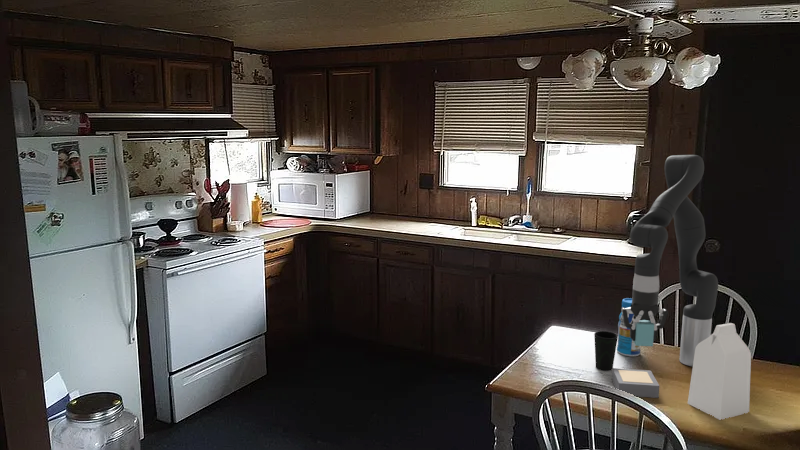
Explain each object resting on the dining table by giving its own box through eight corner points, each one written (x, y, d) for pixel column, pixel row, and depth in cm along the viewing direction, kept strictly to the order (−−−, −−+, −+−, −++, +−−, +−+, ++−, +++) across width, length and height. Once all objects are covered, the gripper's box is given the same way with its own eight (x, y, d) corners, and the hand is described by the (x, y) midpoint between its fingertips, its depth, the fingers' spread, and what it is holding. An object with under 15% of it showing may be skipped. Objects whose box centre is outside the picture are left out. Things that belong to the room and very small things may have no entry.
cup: (617, 372, 214) (619, 339, 212) (593, 371, 216) (595, 337, 214) (614, 364, 222) (616, 331, 220) (591, 362, 223) (593, 330, 221)
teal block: (648, 340, 200) (650, 319, 199) (652, 346, 195) (654, 324, 194) (632, 339, 201) (633, 318, 199) (636, 345, 196) (637, 324, 195)
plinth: (649, 382, 207) (650, 370, 206) (658, 398, 195) (659, 385, 195) (611, 379, 209) (612, 367, 208) (618, 395, 197) (619, 382, 197)
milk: (719, 420, 181) (728, 333, 177) (687, 403, 192) (694, 321, 187) (749, 412, 186) (757, 328, 182) (715, 396, 197) (723, 316, 192)
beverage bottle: (614, 348, 237) (617, 296, 234) (637, 349, 236) (641, 297, 233) (618, 356, 229) (622, 303, 226) (643, 357, 228) (646, 304, 225)
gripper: (666, 285, 197) (663, 337, 201) (619, 284, 199) (616, 335, 202) (673, 292, 190) (669, 345, 193) (624, 290, 192) (621, 343, 195)
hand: (642, 340), depth 198 cm, fingers closed on teal block, 5 cm apart
